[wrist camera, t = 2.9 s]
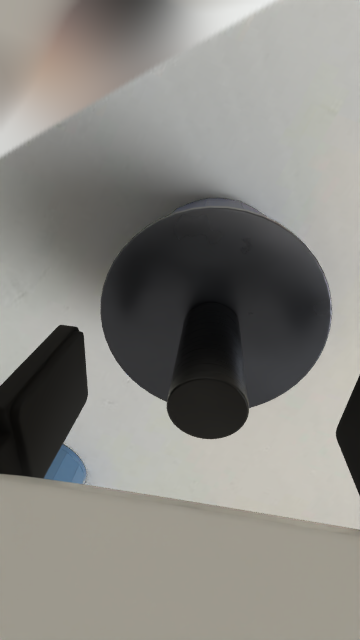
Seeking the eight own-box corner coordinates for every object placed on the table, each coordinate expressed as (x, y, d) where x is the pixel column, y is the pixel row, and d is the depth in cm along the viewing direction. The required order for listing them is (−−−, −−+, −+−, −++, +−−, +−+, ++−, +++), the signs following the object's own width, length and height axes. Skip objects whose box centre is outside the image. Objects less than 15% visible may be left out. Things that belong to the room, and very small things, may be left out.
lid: (110, 384, 17) (61, 489, 12) (104, 191, 13) (17, 220, 7) (293, 409, 17) (328, 531, 11) (357, 216, 12) (469, 269, 7)
